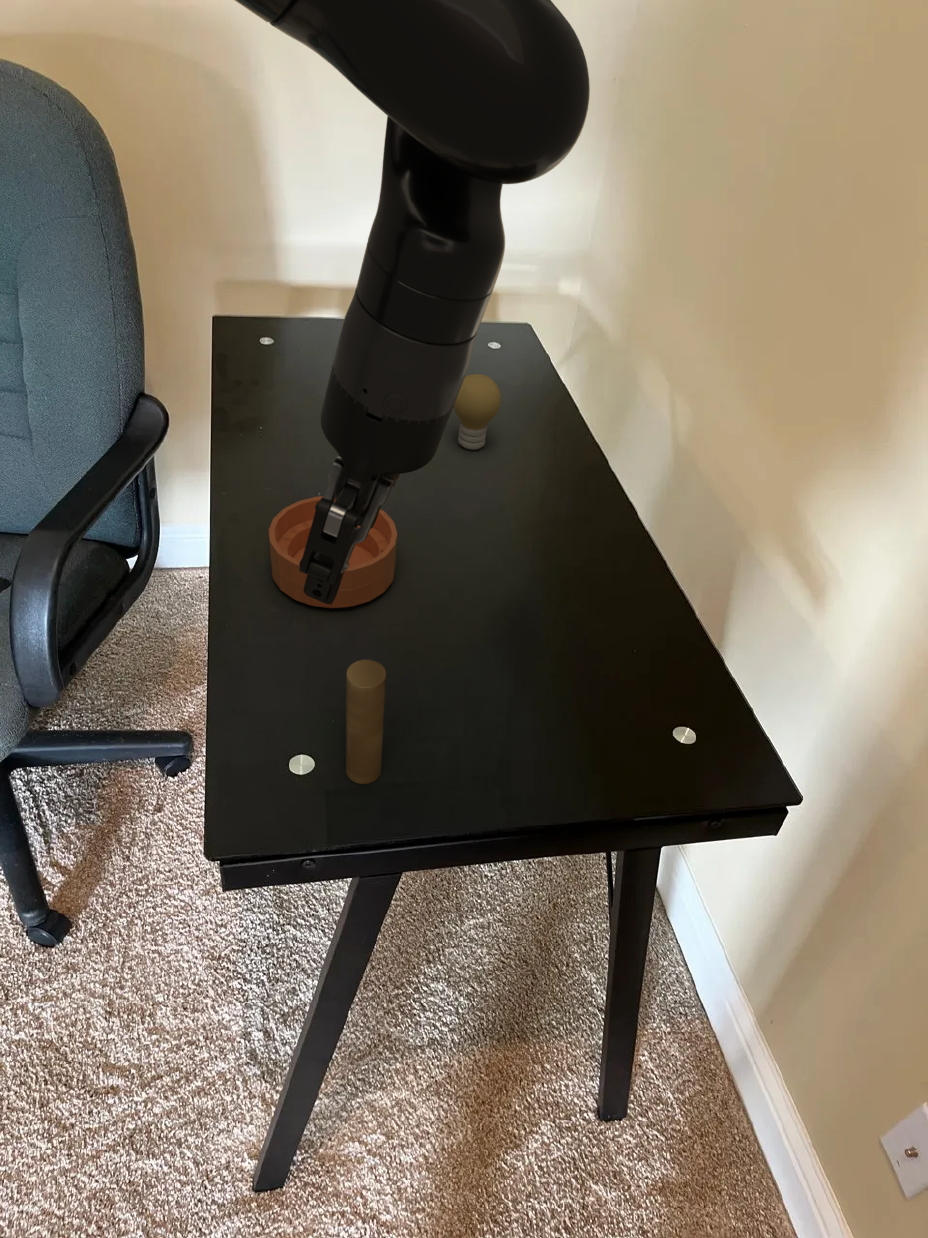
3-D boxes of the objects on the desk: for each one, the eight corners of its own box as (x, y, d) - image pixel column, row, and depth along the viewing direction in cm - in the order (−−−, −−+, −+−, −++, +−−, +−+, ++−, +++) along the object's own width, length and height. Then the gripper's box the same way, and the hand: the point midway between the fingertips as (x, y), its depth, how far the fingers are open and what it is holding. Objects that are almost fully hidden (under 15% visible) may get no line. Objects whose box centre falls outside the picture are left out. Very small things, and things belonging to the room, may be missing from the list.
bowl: (277, 617, 84) (274, 576, 80) (267, 539, 93) (264, 499, 90) (404, 606, 87) (407, 565, 83) (383, 532, 96) (384, 492, 93)
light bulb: (456, 459, 110) (463, 389, 103) (441, 434, 114) (448, 367, 108) (500, 455, 112) (510, 387, 105) (485, 431, 116) (493, 364, 110)
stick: (348, 786, 70) (349, 689, 62) (343, 758, 72) (343, 661, 64) (383, 781, 70) (389, 685, 62) (377, 754, 72) (382, 657, 64)
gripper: (377, 297, 53) (327, 482, 65) (290, 409, 44) (250, 602, 55) (483, 346, 54) (415, 520, 66) (421, 467, 44) (354, 647, 56)
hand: (340, 558), depth 60 cm, fingers open, 8 cm apart
